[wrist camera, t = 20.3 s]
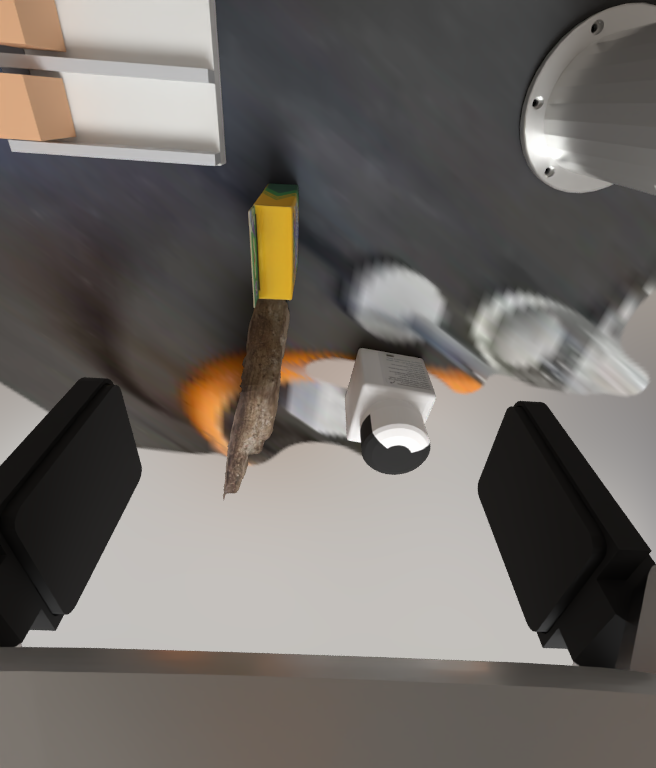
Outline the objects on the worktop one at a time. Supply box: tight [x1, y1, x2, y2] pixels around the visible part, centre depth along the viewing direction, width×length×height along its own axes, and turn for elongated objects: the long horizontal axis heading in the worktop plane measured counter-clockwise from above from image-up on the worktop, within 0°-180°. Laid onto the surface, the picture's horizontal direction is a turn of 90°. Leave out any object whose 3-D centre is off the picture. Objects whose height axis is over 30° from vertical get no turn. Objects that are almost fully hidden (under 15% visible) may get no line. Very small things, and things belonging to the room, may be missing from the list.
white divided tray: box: [0, 0, 226, 166], centre depth 30 cm, size 16×16×4 cm
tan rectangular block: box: [0, 0, 66, 52], centre depth 27 cm, size 3×4×5 cm
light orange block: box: [0, 73, 76, 141], centre depth 30 cm, size 3×4×5 cm
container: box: [345, 348, 436, 475], centre depth 44 cm, size 8×8×13 cm
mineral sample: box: [223, 298, 290, 499], centre depth 42 cm, size 17×4×15 cm, turn 166°
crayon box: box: [248, 183, 299, 308], centre depth 35 cm, size 7×3×12 cm, turn 177°
